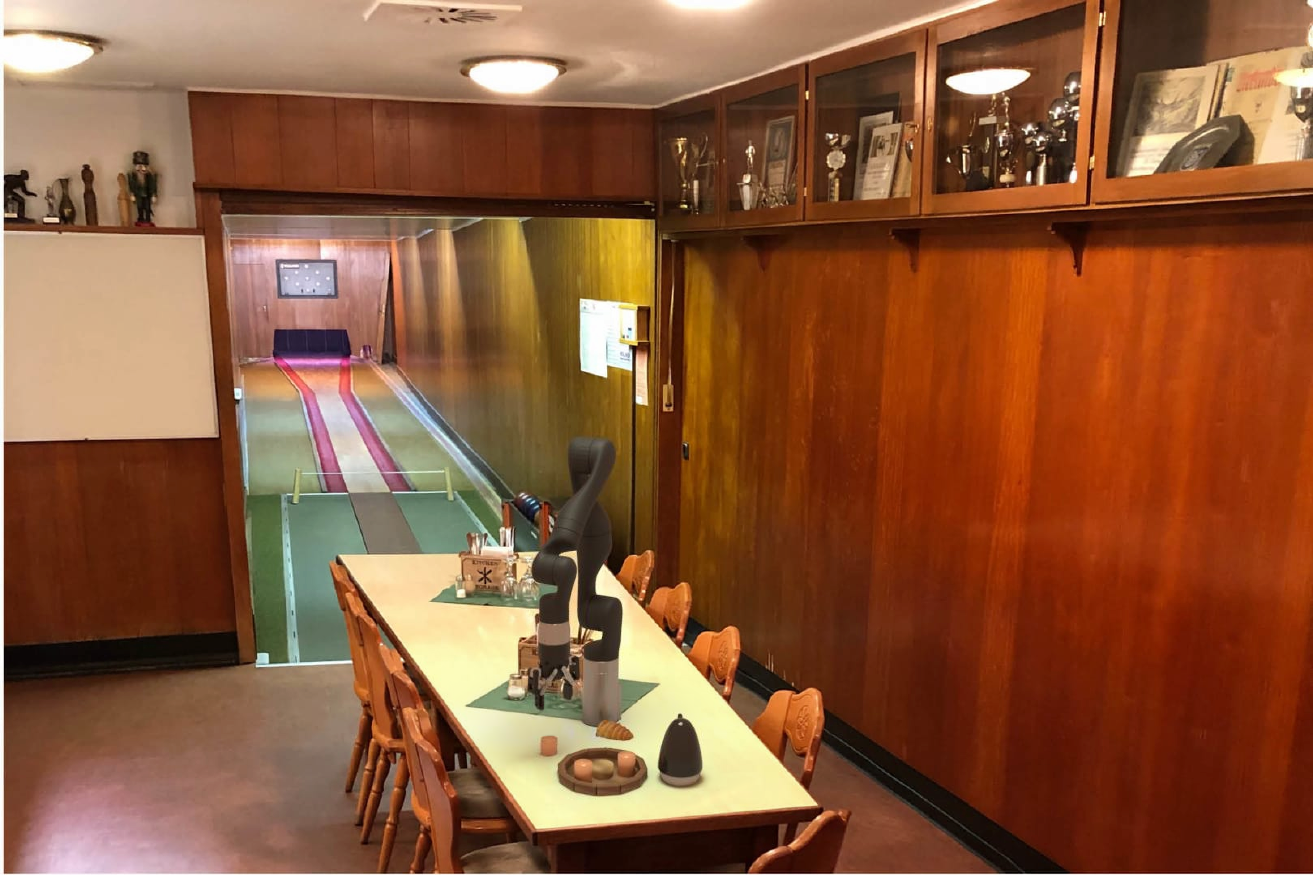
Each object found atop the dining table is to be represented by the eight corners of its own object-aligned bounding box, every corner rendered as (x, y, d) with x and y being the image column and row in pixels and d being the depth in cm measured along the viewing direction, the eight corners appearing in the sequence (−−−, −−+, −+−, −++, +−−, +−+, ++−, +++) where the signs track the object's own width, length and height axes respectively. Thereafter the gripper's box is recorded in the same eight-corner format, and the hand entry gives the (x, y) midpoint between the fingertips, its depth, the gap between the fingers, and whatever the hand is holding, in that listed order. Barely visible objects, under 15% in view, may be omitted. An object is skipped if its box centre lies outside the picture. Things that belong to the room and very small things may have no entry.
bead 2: (584, 775, 235) (585, 757, 234) (595, 782, 232) (595, 763, 231) (570, 780, 232) (570, 761, 232) (581, 787, 229) (581, 768, 229)
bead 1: (551, 751, 250) (551, 733, 249) (560, 757, 247) (560, 739, 246) (537, 756, 247) (537, 738, 247) (546, 761, 244) (547, 743, 244)
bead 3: (627, 767, 240) (628, 749, 239) (638, 773, 237) (638, 755, 236) (614, 772, 237) (614, 753, 237) (624, 778, 234) (625, 759, 234)
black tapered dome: (700, 771, 241) (702, 709, 239) (703, 792, 231) (705, 727, 229) (656, 771, 240) (658, 709, 238) (658, 792, 230) (659, 727, 228)
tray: (609, 752, 250) (610, 738, 250) (664, 782, 235) (664, 767, 235) (541, 775, 237) (541, 760, 237) (593, 808, 222) (594, 793, 222)
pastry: (638, 738, 259) (638, 724, 258) (624, 748, 253) (624, 733, 253) (607, 730, 264) (607, 715, 263) (592, 739, 258) (592, 725, 257)
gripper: (541, 649, 234) (541, 717, 236) (587, 634, 244) (586, 700, 247) (520, 641, 239) (520, 707, 242) (566, 627, 249) (566, 691, 252)
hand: (554, 703), depth 244 cm, fingers open, 8 cm apart
